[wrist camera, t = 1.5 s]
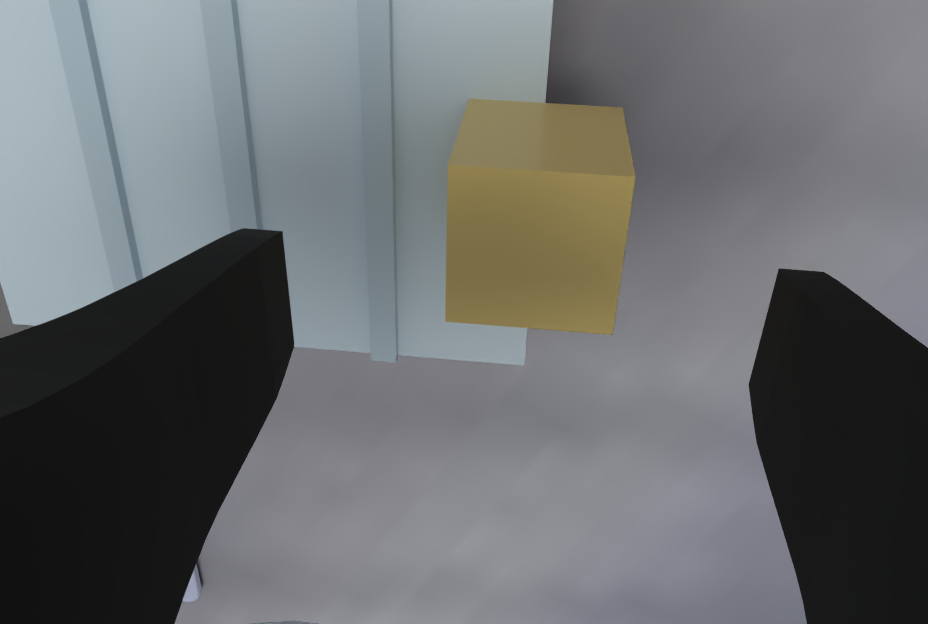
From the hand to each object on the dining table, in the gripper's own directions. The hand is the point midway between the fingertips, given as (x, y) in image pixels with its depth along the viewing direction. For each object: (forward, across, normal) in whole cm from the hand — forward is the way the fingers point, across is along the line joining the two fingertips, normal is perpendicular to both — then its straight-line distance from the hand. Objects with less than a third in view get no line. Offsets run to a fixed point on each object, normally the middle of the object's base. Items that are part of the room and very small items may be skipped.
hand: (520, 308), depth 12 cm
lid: (+6, +5, 0) cm, 8 cm away
